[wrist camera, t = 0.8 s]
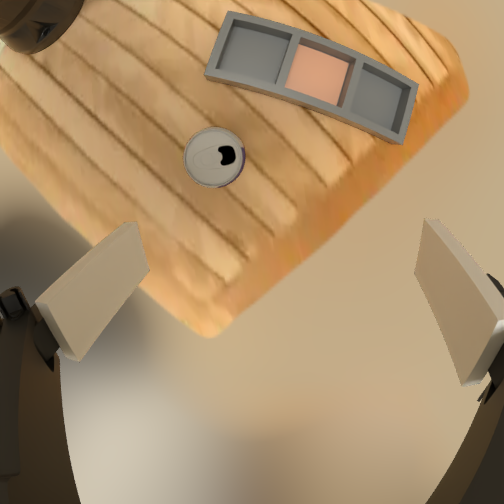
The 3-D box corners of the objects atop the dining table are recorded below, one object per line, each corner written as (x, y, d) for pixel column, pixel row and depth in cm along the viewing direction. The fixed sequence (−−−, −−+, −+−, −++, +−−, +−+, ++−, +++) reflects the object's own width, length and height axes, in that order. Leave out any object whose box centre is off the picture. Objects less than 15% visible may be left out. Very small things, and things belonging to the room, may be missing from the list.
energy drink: (248, 169, 35) (250, 183, 24) (205, 177, 35) (188, 195, 24) (240, 127, 33) (239, 120, 22) (197, 136, 34) (175, 134, 22)
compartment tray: (207, 79, 31) (204, 74, 28) (229, 20, 28) (228, 10, 25) (391, 143, 34) (402, 144, 31) (407, 87, 31) (418, 84, 28)
